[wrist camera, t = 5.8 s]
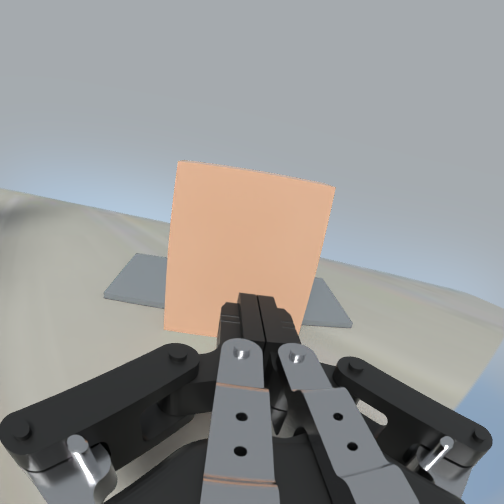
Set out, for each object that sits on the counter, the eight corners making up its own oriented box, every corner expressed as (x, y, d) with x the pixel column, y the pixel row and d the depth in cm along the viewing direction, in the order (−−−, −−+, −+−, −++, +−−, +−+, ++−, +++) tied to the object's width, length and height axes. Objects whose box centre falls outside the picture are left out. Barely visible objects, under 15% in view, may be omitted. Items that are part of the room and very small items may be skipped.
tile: (164, 329, 21) (178, 161, 17) (169, 311, 23) (184, 160, 20) (295, 344, 22) (335, 187, 18) (289, 326, 24) (323, 183, 21)
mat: (103, 297, 23) (103, 292, 23) (136, 257, 32) (136, 253, 32) (351, 327, 25) (352, 323, 25) (321, 282, 35) (322, 278, 35)
